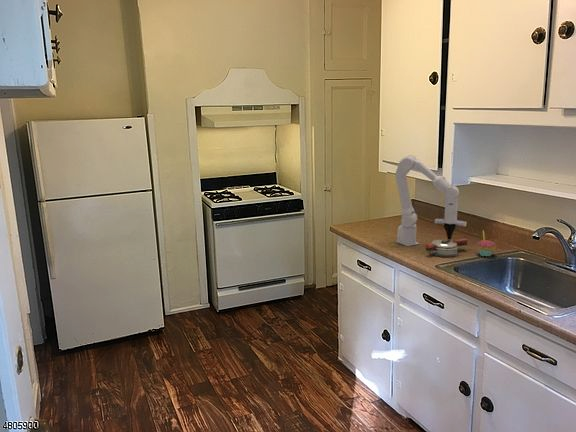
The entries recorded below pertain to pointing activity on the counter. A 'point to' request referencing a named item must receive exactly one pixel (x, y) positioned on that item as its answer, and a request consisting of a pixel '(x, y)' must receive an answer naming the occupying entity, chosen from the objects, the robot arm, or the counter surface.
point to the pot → (445, 251)
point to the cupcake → (485, 247)
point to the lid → (446, 243)
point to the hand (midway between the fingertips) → (449, 238)
